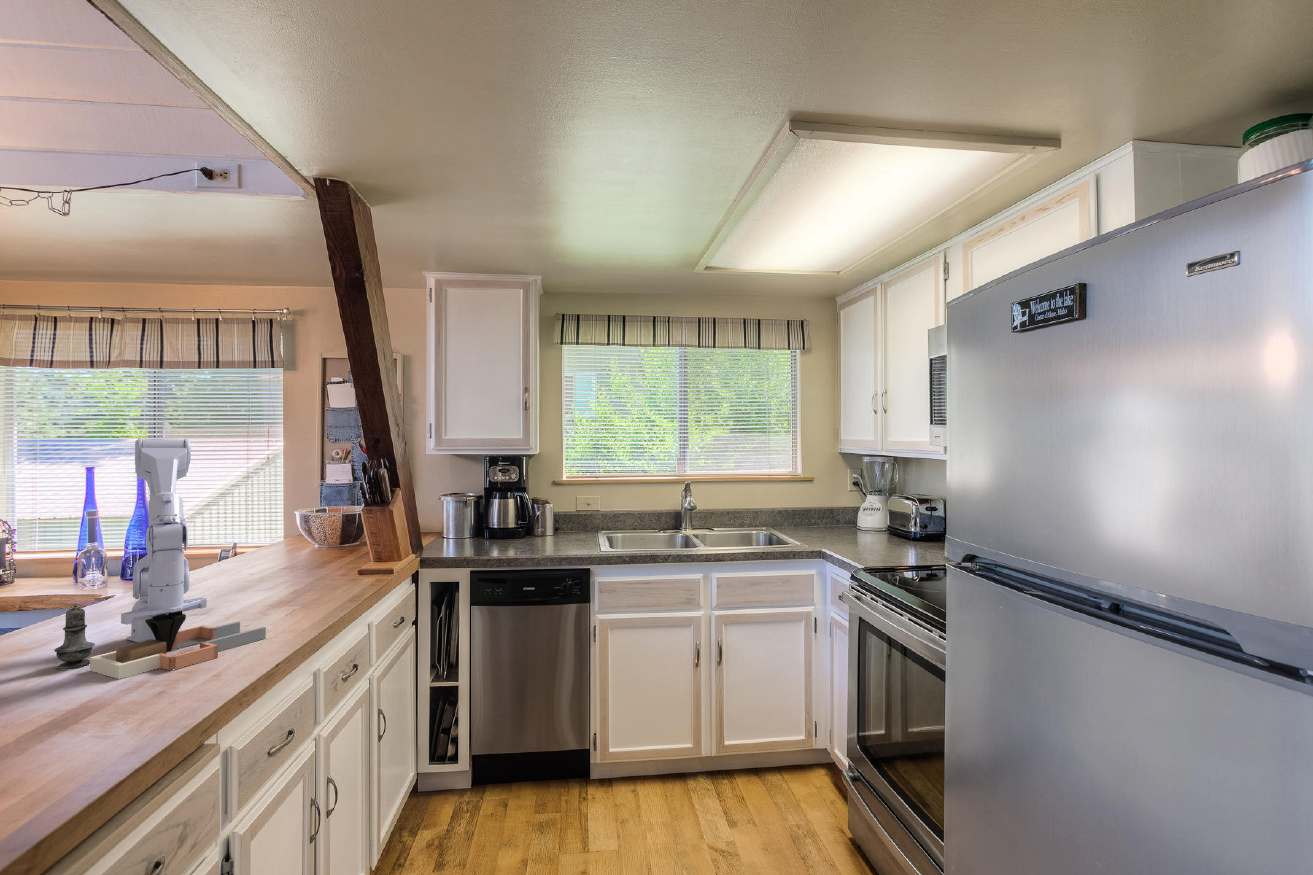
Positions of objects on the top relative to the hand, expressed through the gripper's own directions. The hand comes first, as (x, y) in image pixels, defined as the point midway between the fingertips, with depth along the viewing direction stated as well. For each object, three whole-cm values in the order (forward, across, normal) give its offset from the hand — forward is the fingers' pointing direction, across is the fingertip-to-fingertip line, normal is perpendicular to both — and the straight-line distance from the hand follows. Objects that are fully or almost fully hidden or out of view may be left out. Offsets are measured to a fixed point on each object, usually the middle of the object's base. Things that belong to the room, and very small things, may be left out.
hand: (165, 651), depth 130 cm
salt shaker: (+2, -10, +11) cm, 15 cm away
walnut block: (+1, -4, 0) cm, 5 cm away
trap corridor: (+1, +4, 0) cm, 4 cm away
